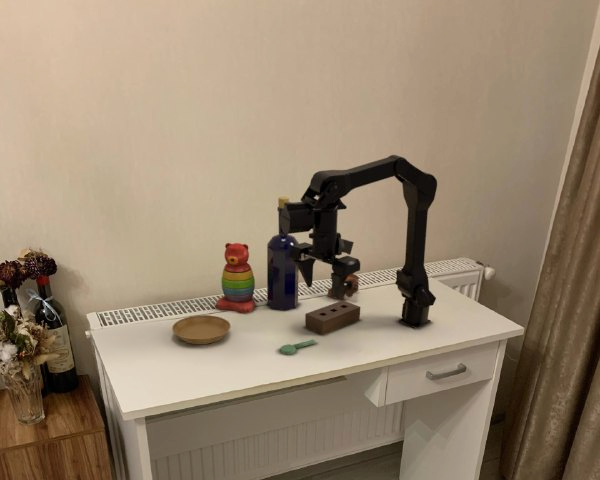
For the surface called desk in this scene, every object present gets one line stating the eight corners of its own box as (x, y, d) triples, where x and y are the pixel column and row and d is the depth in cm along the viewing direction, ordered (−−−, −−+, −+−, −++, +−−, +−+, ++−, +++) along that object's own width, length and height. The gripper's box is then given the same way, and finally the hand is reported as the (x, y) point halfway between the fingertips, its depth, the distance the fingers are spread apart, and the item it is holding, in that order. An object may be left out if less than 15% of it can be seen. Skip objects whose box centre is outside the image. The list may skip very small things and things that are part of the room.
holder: (359, 320, 168) (360, 306, 166) (322, 335, 159) (323, 321, 157) (342, 313, 172) (343, 300, 170) (304, 327, 163) (305, 313, 161)
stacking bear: (213, 308, 173) (210, 246, 164) (228, 296, 181) (225, 236, 172) (248, 314, 170) (247, 251, 161) (262, 301, 178) (261, 241, 169)
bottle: (285, 313, 171) (286, 204, 156) (260, 305, 176) (259, 198, 160) (304, 303, 177) (308, 197, 162) (280, 296, 182) (281, 192, 167)
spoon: (312, 337, 155) (278, 346, 151) (320, 343, 153) (285, 352, 148) (311, 341, 156) (278, 350, 151) (319, 347, 154) (285, 356, 149)
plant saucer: (176, 351, 150) (175, 341, 148) (170, 326, 162) (169, 317, 160) (235, 345, 153) (235, 335, 152) (225, 321, 165) (225, 312, 164)
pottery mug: (319, 294, 185) (327, 268, 185) (343, 303, 190) (350, 278, 190) (342, 297, 175) (350, 269, 175) (366, 307, 180) (375, 280, 180)
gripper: (377, 230, 142) (372, 294, 150) (319, 215, 154) (318, 274, 162) (345, 240, 136) (342, 306, 144) (287, 223, 147) (287, 285, 155)
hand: (322, 292), depth 151 cm, fingers open, 9 cm apart
